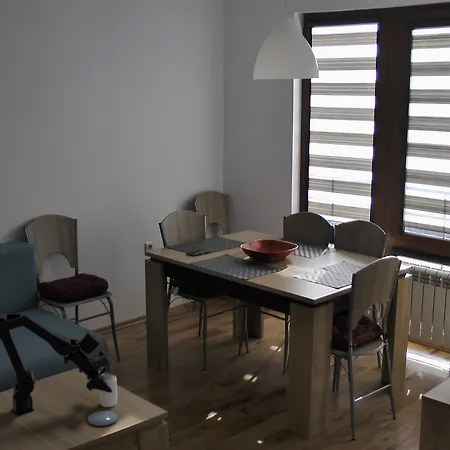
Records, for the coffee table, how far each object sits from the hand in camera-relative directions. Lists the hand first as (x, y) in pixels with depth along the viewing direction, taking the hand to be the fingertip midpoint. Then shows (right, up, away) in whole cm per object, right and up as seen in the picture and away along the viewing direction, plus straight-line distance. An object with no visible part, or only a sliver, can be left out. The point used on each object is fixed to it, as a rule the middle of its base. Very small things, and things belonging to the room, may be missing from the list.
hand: (112, 388), depth 272 cm
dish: (-1, -9, -12) cm, 15 cm away
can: (-1, -7, +1) cm, 7 cm away
